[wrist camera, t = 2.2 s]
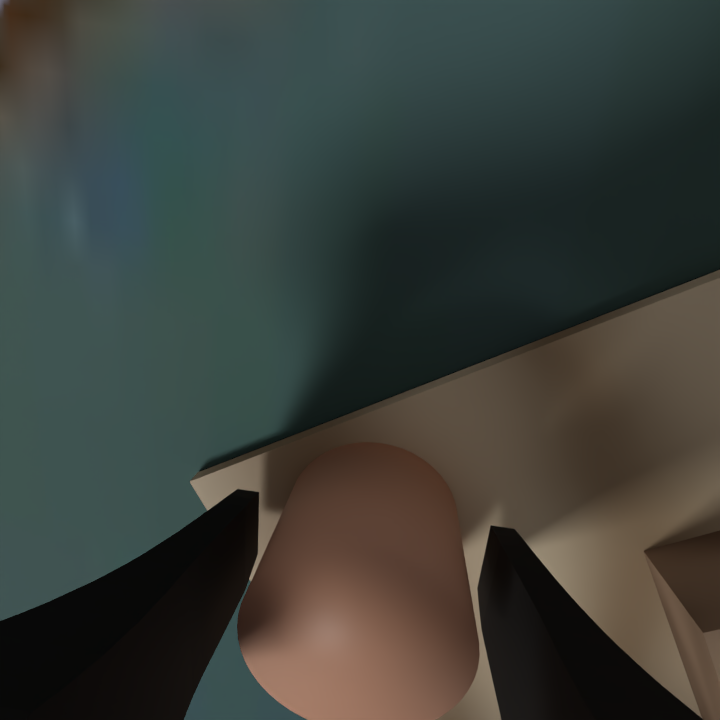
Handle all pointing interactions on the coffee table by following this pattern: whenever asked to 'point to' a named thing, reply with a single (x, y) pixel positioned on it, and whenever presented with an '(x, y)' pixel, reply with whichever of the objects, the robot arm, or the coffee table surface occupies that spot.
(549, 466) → the board
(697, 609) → the tower base
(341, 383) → the coffee table surface
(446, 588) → the cylinder
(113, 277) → the coffee table surface
